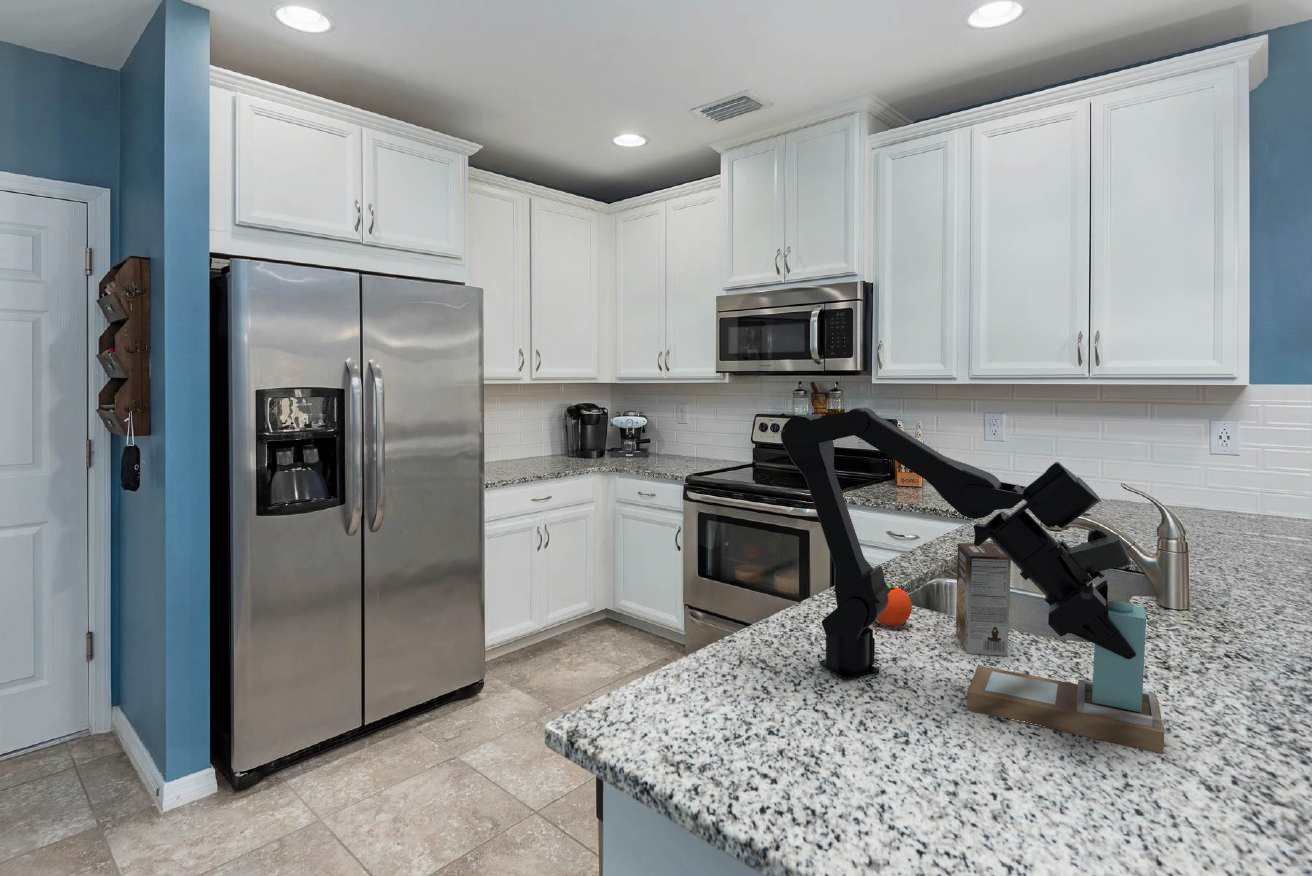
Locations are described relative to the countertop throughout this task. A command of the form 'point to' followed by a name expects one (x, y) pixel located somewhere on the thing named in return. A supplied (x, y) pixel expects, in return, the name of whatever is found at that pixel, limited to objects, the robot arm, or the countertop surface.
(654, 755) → the countertop surface
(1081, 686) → the walnut base plate
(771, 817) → the countertop surface
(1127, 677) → the teal pillar
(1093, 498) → the robot arm
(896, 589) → the clementine
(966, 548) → the coffee box
